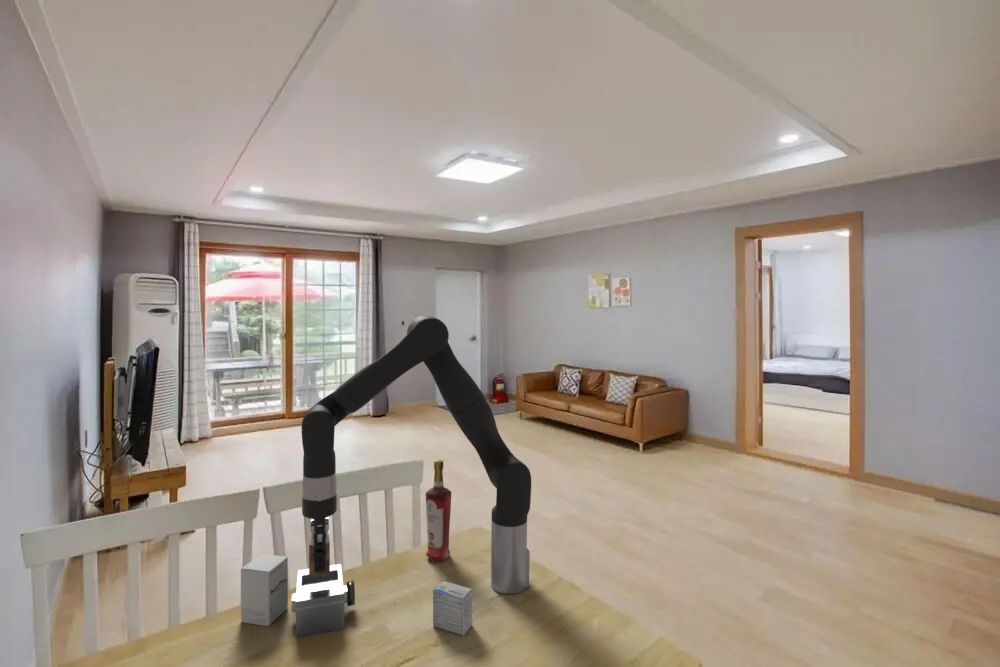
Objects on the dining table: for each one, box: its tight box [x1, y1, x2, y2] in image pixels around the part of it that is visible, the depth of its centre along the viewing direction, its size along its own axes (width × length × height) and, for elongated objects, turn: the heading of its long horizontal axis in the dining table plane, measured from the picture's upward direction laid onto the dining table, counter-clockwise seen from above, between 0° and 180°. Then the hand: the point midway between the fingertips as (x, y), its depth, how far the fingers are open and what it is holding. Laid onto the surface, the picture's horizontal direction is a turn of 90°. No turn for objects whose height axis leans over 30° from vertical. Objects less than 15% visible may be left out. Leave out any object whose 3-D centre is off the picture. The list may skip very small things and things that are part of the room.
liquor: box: [425, 459, 452, 562], centre depth 145 cm, size 7×7×28 cm
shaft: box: [291, 580, 356, 613], centre depth 118 cm, size 14×5×5 cm, turn 110°
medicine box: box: [432, 580, 473, 636], centre depth 114 cm, size 8×4×9 cm, turn 65°
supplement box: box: [240, 553, 289, 627], centre depth 117 cm, size 7×7×13 cm
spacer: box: [308, 534, 331, 576], centre depth 117 cm, size 4×4×7 cm
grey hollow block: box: [295, 563, 345, 639], centre depth 118 cm, size 10×14×8 cm
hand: (319, 565), depth 117 cm, fingers closed on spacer, 4 cm apart
